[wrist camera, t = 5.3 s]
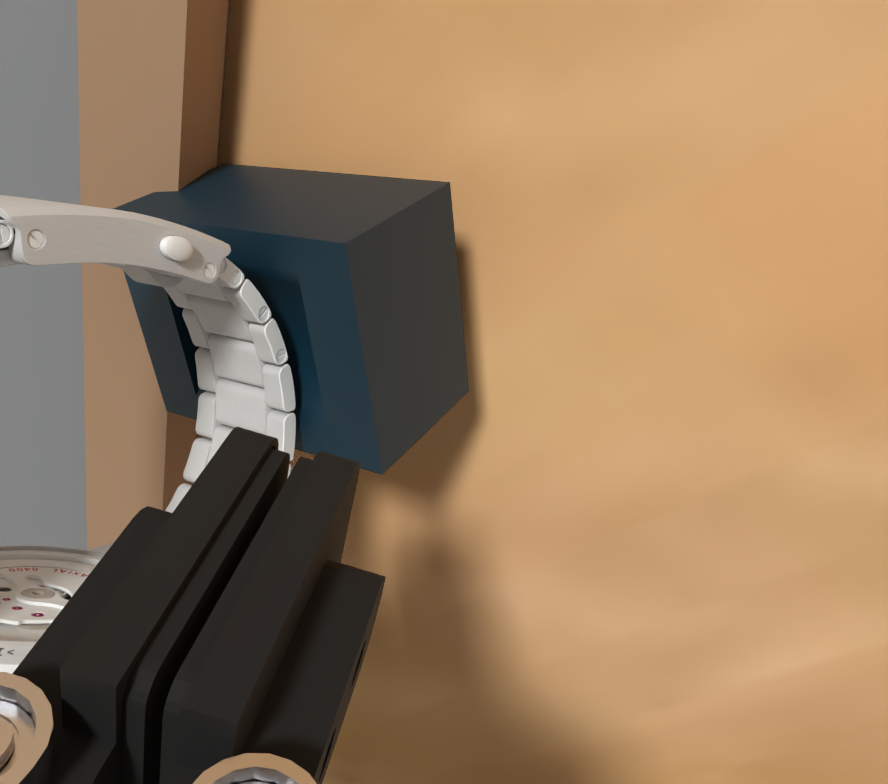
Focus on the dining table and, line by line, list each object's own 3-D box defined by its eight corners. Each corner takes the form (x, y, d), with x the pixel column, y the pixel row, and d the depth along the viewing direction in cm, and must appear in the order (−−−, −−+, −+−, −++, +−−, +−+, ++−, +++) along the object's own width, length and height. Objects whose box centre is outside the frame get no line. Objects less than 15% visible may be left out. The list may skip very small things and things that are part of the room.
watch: (282, 416, 21) (-185, 772, 13) (204, 75, 17) (-548, 290, 9) (479, 470, 18) (41, 964, 10) (445, 78, 14) (-334, 393, 6)
